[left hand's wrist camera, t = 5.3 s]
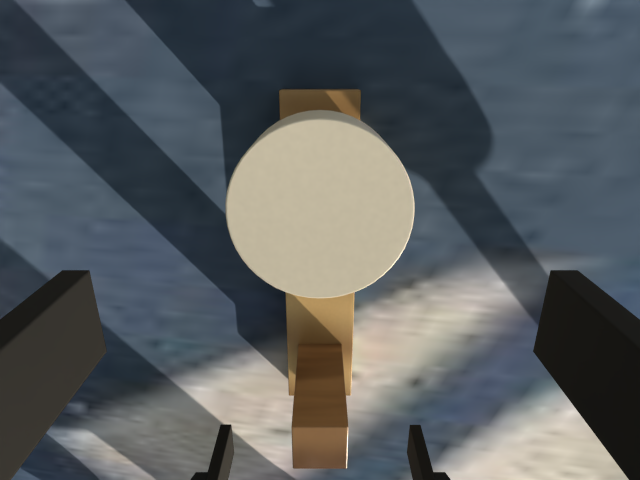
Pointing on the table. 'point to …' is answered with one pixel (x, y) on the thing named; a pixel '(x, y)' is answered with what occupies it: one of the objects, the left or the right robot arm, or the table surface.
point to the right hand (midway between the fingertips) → (320, 438)
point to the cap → (319, 205)
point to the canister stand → (319, 333)
